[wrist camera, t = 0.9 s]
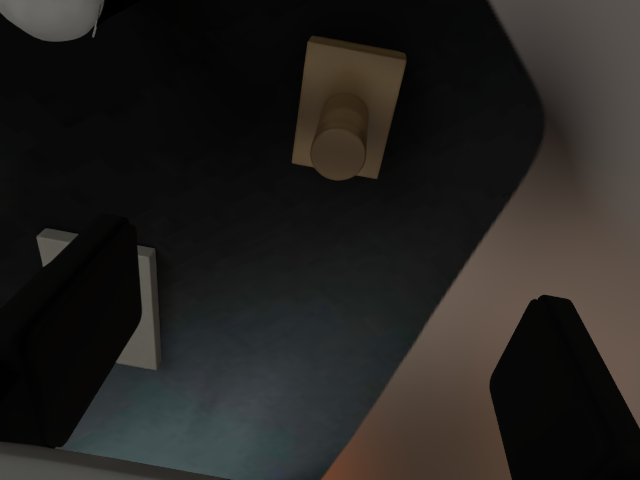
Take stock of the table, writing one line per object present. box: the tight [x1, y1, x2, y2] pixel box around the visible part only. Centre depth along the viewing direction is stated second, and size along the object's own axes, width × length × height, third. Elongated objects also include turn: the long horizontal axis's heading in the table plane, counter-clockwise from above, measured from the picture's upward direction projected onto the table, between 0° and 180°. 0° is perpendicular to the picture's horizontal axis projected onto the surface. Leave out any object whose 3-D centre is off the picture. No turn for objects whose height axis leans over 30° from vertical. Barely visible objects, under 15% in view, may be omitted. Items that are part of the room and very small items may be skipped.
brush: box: [292, 36, 407, 180], centre depth 23 cm, size 6×5×8 cm
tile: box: [37, 228, 162, 370], centre depth 37 cm, size 12×8×1 cm, turn 171°
